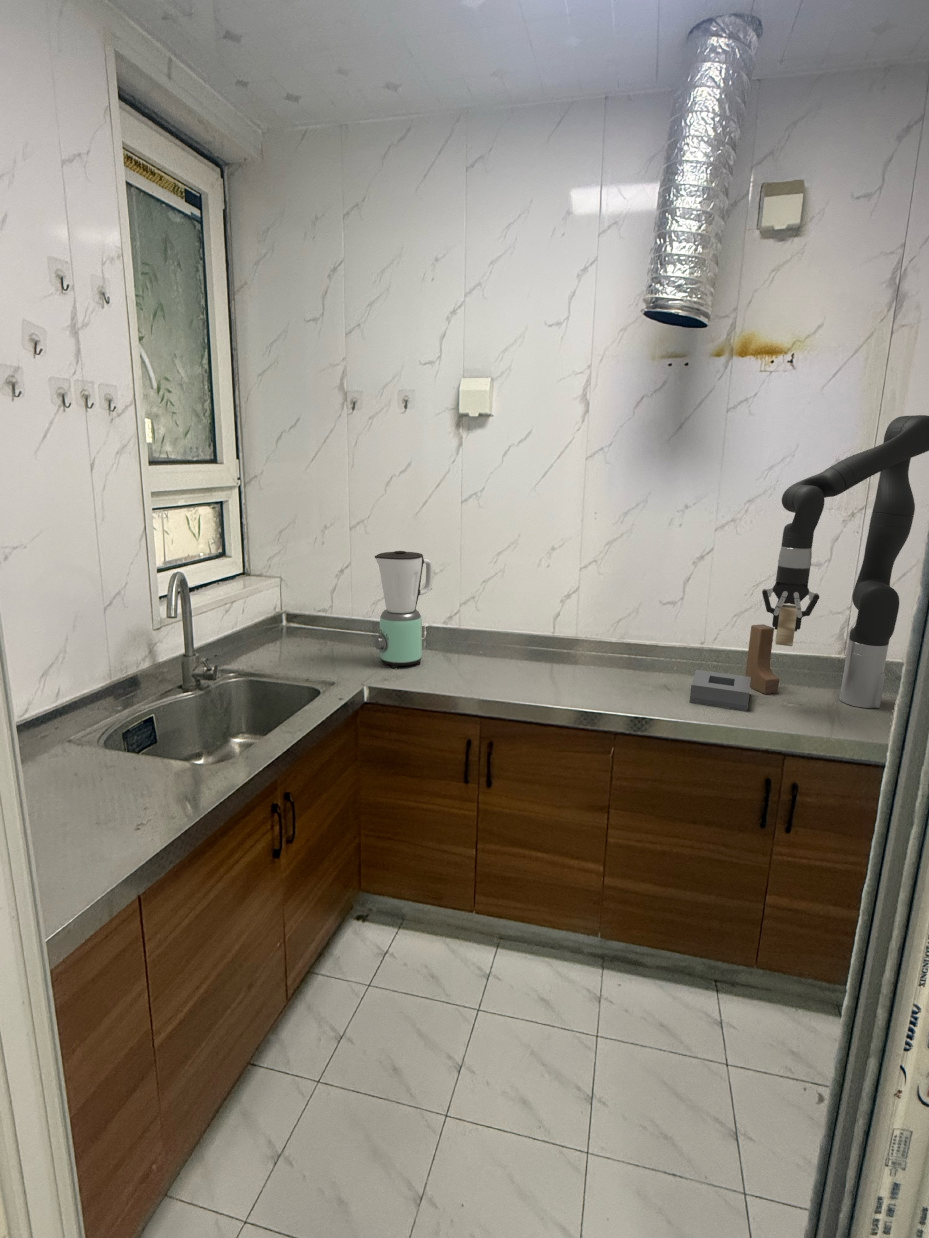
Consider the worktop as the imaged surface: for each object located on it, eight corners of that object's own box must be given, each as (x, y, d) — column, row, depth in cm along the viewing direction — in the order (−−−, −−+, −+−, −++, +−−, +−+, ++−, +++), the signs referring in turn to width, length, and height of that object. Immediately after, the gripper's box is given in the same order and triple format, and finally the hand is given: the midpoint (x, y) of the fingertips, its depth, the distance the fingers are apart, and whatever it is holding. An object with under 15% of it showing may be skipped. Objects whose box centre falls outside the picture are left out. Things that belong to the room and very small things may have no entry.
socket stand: (748, 693, 191) (750, 676, 190) (747, 711, 178) (749, 693, 177) (694, 686, 197) (696, 669, 195) (689, 702, 184) (691, 684, 183)
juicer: (386, 672, 203) (384, 556, 195) (367, 661, 214) (365, 550, 206) (440, 663, 213) (442, 552, 205) (420, 652, 224) (420, 546, 216)
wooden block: (778, 693, 192) (786, 631, 188) (764, 694, 191) (772, 632, 186) (756, 683, 200) (763, 623, 196) (743, 684, 199) (750, 624, 195)
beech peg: (792, 642, 179) (797, 605, 177) (792, 646, 176) (797, 608, 173) (775, 640, 181) (780, 604, 179) (775, 644, 177) (780, 607, 175)
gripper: (824, 564, 174) (815, 629, 178) (763, 560, 179) (756, 623, 184) (826, 569, 167) (816, 636, 171) (763, 564, 173) (755, 630, 177)
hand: (785, 629), depth 177 cm, fingers closed on beech peg, 4 cm apart
